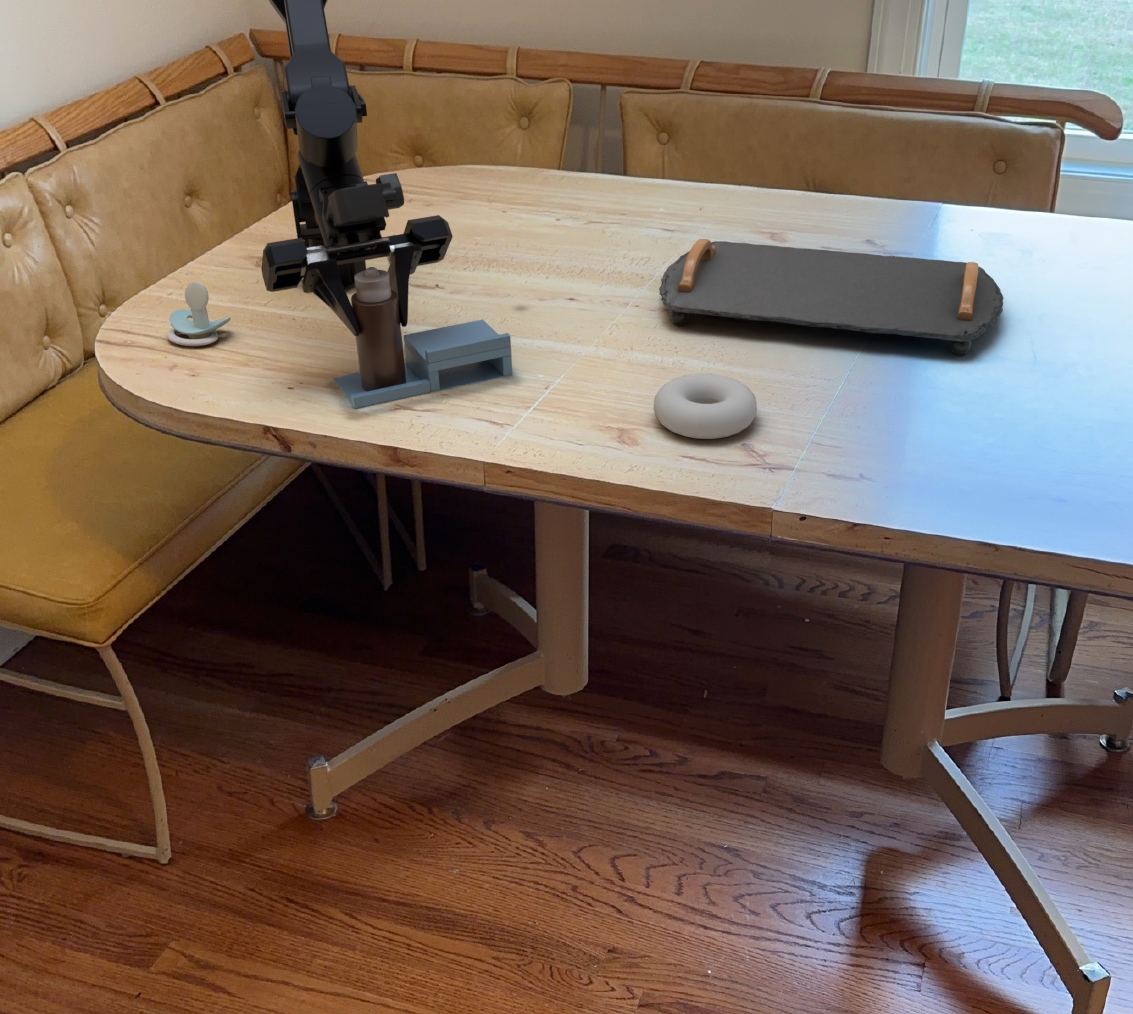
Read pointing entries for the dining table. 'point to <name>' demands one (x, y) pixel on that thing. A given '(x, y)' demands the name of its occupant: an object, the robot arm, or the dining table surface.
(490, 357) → the riser
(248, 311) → the dining table surface
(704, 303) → the serving tray
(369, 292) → the pepper mill
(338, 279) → the robot arm
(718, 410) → the donut
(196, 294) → the pacifier
